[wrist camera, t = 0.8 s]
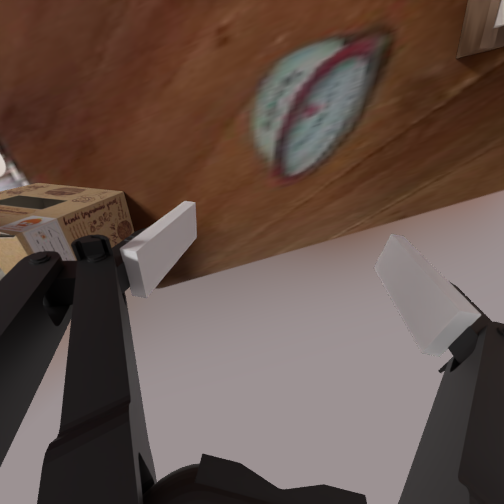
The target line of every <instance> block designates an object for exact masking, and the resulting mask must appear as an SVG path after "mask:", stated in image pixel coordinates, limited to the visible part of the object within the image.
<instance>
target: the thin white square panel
mask: <svg viewBox="0 0 504 504" xmlns="http://www.w3.org/2000/svg"><path fill="white" fill-rule="evenodd" d="M500 26H504V0H500V3H499V7H498V11H497V15H496V18H495V22H494V26H493V28H497V27H500Z"/></svg>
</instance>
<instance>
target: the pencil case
mask: <svg viewBox="0 0 504 504" xmlns="http://www.w3.org/2000/svg"><path fill="white" fill-rule="evenodd" d="M499 3H500V0H468V3H467V8H466V13H465V18H464V22H463V27H462V32H461V37H460V42H459V46H458V51H457V56H456V59H457V58H461V57H465V56H469V55H473V54H477V53H481V52H485V51H489V50H493V49H497V48H501V47H504V26H500V27H497V28H493V26H494V22H495V18H496V15H497V11H498V7H499Z"/></svg>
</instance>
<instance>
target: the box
mask: <svg viewBox="0 0 504 504" xmlns="http://www.w3.org/2000/svg"><path fill="white" fill-rule="evenodd" d="M132 233H134V229H133V225H132V221H131V218H130V214H129V210H128V206H127V203H126V199H125V195H124V192H122V191H113V190H103V189H93V188H83V187H73V186H63V185H53V184H44V183H36V184H31V185H27V186H23V187H18V188H14V189H10V190H5V191H1V192H0V280H1V279H2V278H3V277H4V276H5V275H6V274H7V273H8V272H9V271H10V270H11V269H12V268H13V267H14V266H15V265H16V264H17V263H18V262H19V261H20V260H21V259H23V258H24V257H26V256H29V255H31V254H33V253H37V252H43V251H55V252H58V253H59V254H60V256H61V258H62V260H63V261H77V259H76V256H75V254H74V252H73V249H72V247H71V243H72V242H73V241H74V240H76V239H78V238H80V237H83V236H87V235H96V234H98V235H104V236H107V237H108V238H109V241H110V244H111V248H112V247H114V246H115V245H117V244H118V243H120V242H121V241H122V240H124V239H125V238H127V237H129V236H130V235H131V234H132Z"/></svg>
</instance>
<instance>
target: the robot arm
mask: <svg viewBox="0 0 504 504" xmlns="http://www.w3.org/2000/svg"><path fill="white" fill-rule="evenodd" d="M196 238H197V231H196V206H195V202H189V201H184V202H183V203H181V204H180V205H178V206H177V207H176V208H174V209H173V210H172V211H170V212H169V213H168V214H166V215H165V216H163V217H162V218H161V219H159V220H158V221H157V222H155V223H154V224H153V225H151V226H150V227H148V228H147V229H146V228H143V229H141V230H138V231H135V232H134V233H132V234H131V235H130V236H129V237H127V238H125V239H124V240H122V241H121V242H120V243H118V244H117V245H115V246H114V247H112V248H111V244H110V241H109V238H108V237H107V236H104V235H98V234H96V235H87V236H83V237H80V238H78V239H76V240H74V241H73V242H72V243H71V247H72V249H73V252H74V254H75V256H76V259H77V261H63V260H62V258H61V256H60V254H59V253H58V252H55V251H43V252H37V253H33V254H31V255H29V256H26V257H24V258H23V259H21V260H20V261H19V262H18V263H17V264H16V265H15V266H14V267H13V268H12V269H11V270H10V271H9V272H8V273H7V274H6V275H5V276H4V277H3V278H2V279H1V280H0V466H1V464H2V462H3V460H4V458H5V456H6V454H7V452H8V450H9V448H10V446H11V443H12V441H13V439H14V437H15V435H16V433H17V431H18V429H19V427H20V425H21V422H22V420H23V418H24V416H25V414H26V412H27V410H28V408H29V406H30V404H31V402H32V400H33V397H34V395H35V393H36V391H37V389H38V387H39V385H40V383H41V381H42V379H43V376H44V374H45V372H46V370H47V368H48V366H49V364H50V362H51V360H52V358H53V356H54V354H55V351H56V349H57V347H58V345H59V343H60V341H61V339H62V337H63V335H64V333H65V330H66V328H67V326H68V324H69V322H70V320H71V328H70V338H69V347H68V357H67V366H66V375H65V385H64V395H63V404H62V414H61V423H60V430H59V434H58V436H57V438H56V439H55V440H54V441H53V442H51V443H50V444H49V446H48V449H47V451H46V453H45V457H44V461H43V466H42V473H41V480H40V488H39V494H38V501H37V504H367V502H366V497H365V495H363V494H359V493H355V492H351V491H347V490H343V489H339V488H336V487H332V486H328V485H316V486H308V487H300V488H293V489H285V490H284V489H279V488H277V487H276V486H274V485H273V484H271V483H270V482H268V481H267V480H265V479H264V478H262V477H261V476H259V475H257V474H256V473H255V472H253V471H251V470H250V469H248V468H247V467H245V466H244V465H242V464H241V463H238V462H234V461H230V460H226V459H222V458H218V457H214V456H210V455H206V454H202V458H201V461H200V464H193V465H189V466H185V467H182V468H180V469H178V470H176V471H174V472H172V473H170V474H168V475H167V476H165V477H164V478H162V479H161V480H159V481H158V482H157V481H156V475H155V469H154V464H153V459H152V455H151V450H150V446H149V441H148V435H147V430H146V423H145V417H144V410H143V404H142V397H141V391H140V384H139V378H138V372H137V365H136V359H135V352H134V347H133V340H132V334H131V327H130V321H129V314H128V308H127V301H126V296H125V291H126V290H127V289H128V288H129V287H130V289H131V293H132V295H133V296H138V297H143V298H147V297H148V296H149V295H150V293H151V292H152V291H153V290H154V289H155V287H156V286H157V285H158V284H159V283H160V281H161V280H162V279H163V278H164V276H165V275H166V274H167V273H168V272H169V270H170V269H171V268H172V267H173V266H174V264H175V263H176V262H177V261H178V260H179V258H180V257H181V256H182V255H183V253H184V252H185V251H186V250H187V249H188V247H189V246H190V245H191V244H192V243H193V241H194V240H195V239H196ZM374 269H375V271H376V273H377V275H378V276H379V278H380V280H381V282H382V283H383V286H384V287H385V289H386V291H387V293H388V294H389V296H390V298H391V300H392V301H393V303H394V305H395V307H396V308H397V310H398V312H399V314H400V316H401V317H402V319H403V321H404V323H405V325H406V326H407V328H408V330H409V331H410V333H411V335H412V337H413V339H414V340H415V342H416V344H417V346H418V347H419V349H420V351H421V353H423V354H428V355H433V356H438V357H440V356H441V355H442V354H443V353H444V352H445V351H446V350H447V349H449V350H450V351H451V353H452V354H453V357H452V358H451V359H450V360H449V361H448V362H447V363H446V364H445V365H444V366H443V367H442V368H441V369H440V370H439V372H440V373H441V372H443V371H445V372H444V375H443V378H442V381H441V383H440V387H439V389H438V392H437V395H436V398H435V401H434V403H433V406H432V409H431V412H430V415H429V418H428V421H427V423H426V426H425V429H424V432H423V435H422V438H421V441H420V443H419V446H418V449H417V452H416V455H415V458H414V461H413V463H412V466H411V469H410V472H409V475H408V478H407V480H406V483H405V486H404V489H403V492H402V495H401V497H400V500H399V502H398V504H504V324H502V323H498V322H492V321H491V320H490V319H489V318H488V317H487V316H486V315H485V314H484V313H483V312H482V311H481V310H480V309H479V308H478V307H477V306H476V305H475V304H474V303H473V302H471V300H470V299H469V298H468V297H467V296H465V294H464V293H463V292H462V291H461V290H460V289H459V288H458V287H457V286H455V285H453V284H452V283H451V282H449V281H448V280H447V279H446V278H445V277H444V276H443V275H442V274H441V273H440V272H439V271H438V270H437V269H436V268H435V267H434V266H433V265H432V264H431V263H430V262H429V261H428V260H427V259H426V258H425V257H424V256H423V255H422V254H421V253H420V252H419V251H418V250H417V249H416V248H415V247H414V246H413V245H412V244H411V243H410V242H409V241H408V240H407V239H406V238H405V237H404V236H402V235H396V234H391V235H390V237H389V239H388V241H387V243H386V245H385V247H384V249H383V251H382V253H381V255H380V256H379V258H378V261H377V262H376V264H375V266H374Z"/></svg>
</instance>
